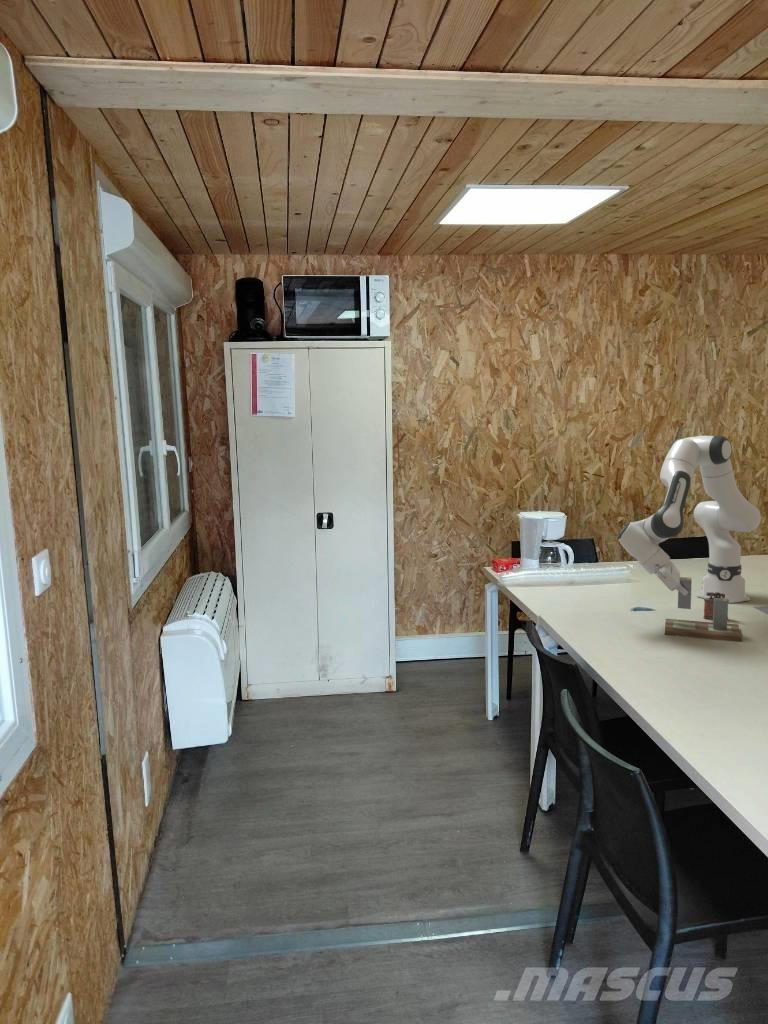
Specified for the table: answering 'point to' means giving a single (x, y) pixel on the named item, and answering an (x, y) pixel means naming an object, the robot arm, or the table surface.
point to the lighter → (711, 604)
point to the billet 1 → (683, 600)
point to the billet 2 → (720, 614)
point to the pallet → (701, 630)
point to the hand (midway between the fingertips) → (686, 592)
